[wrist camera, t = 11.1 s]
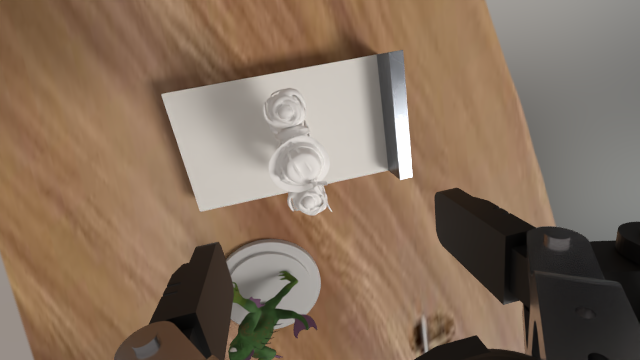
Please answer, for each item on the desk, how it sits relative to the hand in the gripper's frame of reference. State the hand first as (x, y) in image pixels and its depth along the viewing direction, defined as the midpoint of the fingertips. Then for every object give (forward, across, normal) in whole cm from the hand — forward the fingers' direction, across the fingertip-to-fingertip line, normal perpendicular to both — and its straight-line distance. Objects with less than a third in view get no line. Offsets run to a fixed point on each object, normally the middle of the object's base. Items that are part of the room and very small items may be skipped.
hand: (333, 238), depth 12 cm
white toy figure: (+19, 0, 0) cm, 19 cm away
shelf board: (+22, 0, 0) cm, 22 cm away
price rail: (+19, -9, 0) cm, 21 cm away
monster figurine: (+22, +6, +17) cm, 29 cm away
